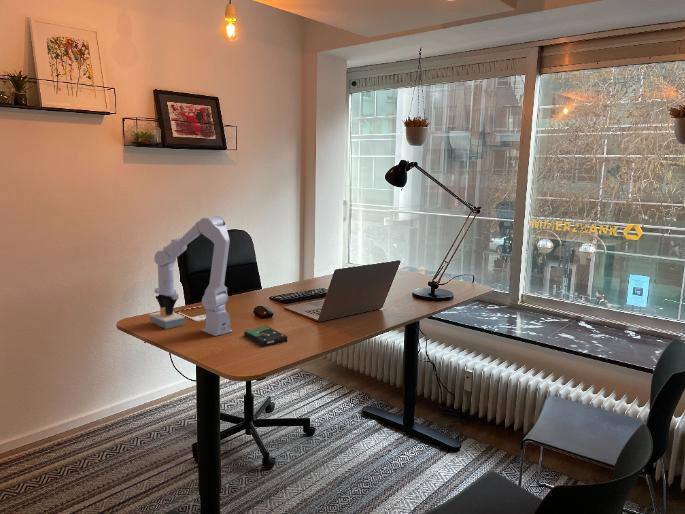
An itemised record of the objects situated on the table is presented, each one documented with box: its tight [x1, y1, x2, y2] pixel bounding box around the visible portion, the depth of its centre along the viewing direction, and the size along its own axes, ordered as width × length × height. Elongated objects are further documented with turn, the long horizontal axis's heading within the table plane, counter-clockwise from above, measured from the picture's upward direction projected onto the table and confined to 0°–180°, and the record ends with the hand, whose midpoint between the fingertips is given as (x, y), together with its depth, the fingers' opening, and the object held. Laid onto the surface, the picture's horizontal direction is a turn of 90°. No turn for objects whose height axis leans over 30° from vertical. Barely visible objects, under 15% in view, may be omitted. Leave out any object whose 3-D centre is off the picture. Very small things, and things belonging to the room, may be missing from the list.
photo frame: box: [178, 305, 206, 322], centre depth 229 cm, size 15×1×18 cm
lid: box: [149, 307, 186, 322], centre depth 212 cm, size 12×8×4 cm
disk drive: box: [243, 325, 288, 348], centre depth 199 cm, size 10×3×15 cm
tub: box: [149, 316, 185, 330], centre depth 213 cm, size 12×8×3 cm, turn 48°
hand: (167, 313), depth 212 cm, fingers closed on lid, 3 cm apart
